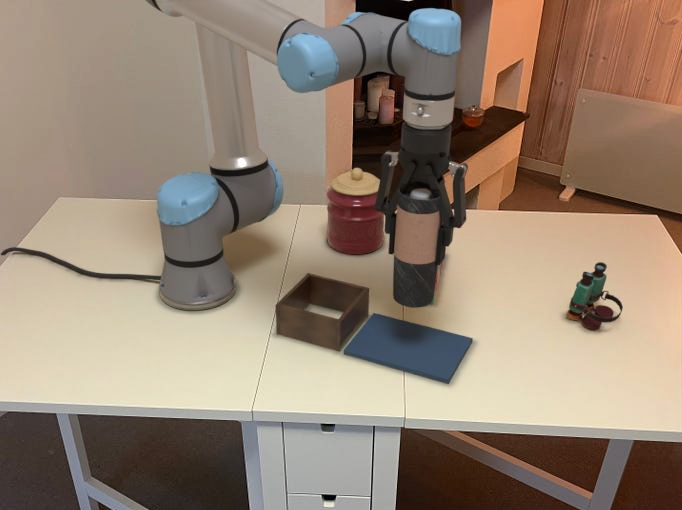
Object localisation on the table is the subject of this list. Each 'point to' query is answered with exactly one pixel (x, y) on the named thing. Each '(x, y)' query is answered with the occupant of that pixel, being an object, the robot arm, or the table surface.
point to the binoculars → (592, 299)
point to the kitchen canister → (354, 213)
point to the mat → (409, 347)
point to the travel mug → (416, 246)
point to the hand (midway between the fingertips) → (416, 256)
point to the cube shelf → (318, 326)
